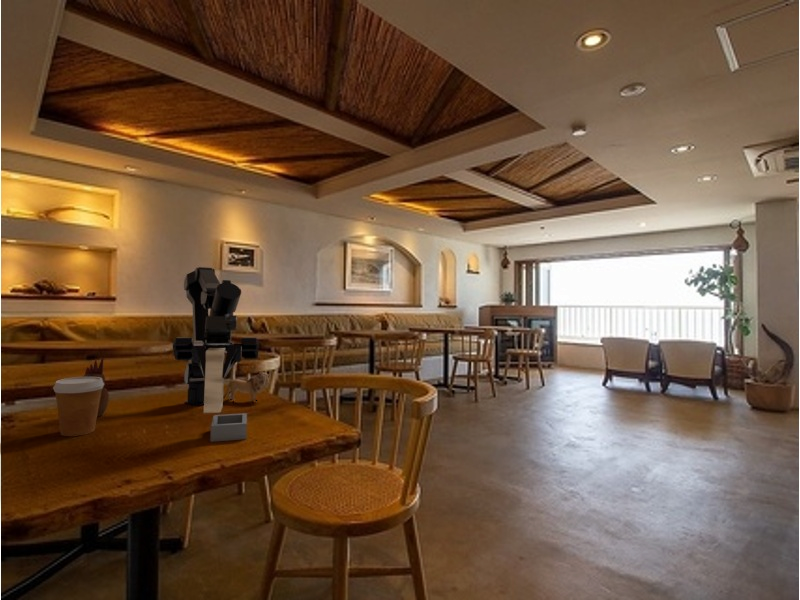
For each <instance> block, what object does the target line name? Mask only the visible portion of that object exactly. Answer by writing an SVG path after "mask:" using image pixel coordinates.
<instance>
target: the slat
mask: <svg viewBox="0 0 800 600" xmlns="http://www.w3.org/2000/svg"><path fill="white" fill-rule="evenodd" d="M225 360H226V353H225V348H209V349H208V350H207V351H206V369H205V391H204V405H203V414H212V413H213V414H215V413H217V414H218V413H221V412H222V410H223V407H224V406H223V403H224V399H223V396H224V383H225V378H223V368H224V364H225Z"/></svg>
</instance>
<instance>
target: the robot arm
mask: <svg viewBox="0 0 800 600" xmlns="http://www.w3.org/2000/svg"><path fill="white" fill-rule="evenodd" d="M183 289H184V291H185V293H186V294H185V295H186V298H187V299H188V302H190V303H191V305H192V329H193V332H192V333H193V336H192V337H189V336H188V337H187V336H185V337H176V338H174V339H173V342H172V351H173V355H174V360H176V361H188V363H186V366H185V372H184V383H185V384H186V385H188V388H187V400H184V402H183V403H184V404H187V405H195V406H204V405H203V404H204V391H205V369H206V351H207V350H208V349H209V348H225V364H224V368H223V378H224V379H226V377H227V375H228V374H229V372H230V371H231V369H232V368H233V367H234V366H235V365H236V363H239V362H242V359H244V360H257V359H258V358H259V339H258V338H257V337H254V336H253V337H249V336H248V337H243V336H242V337H241V343H234V342H232V332H233V331H237V329H238V315H234V313H236V310H237V307H238V304H239V302H240V299H241V298H240V297H241V294H242V290H241V288H240V287H239V286H238V285H236V284H234V283H232V281H231V280H229V279H227V280H226V279H222V281H221V282H220V281H219V279H218V277H217V275H216V271H215V268H212V267H206V266H205V267H204V266H198V267H196V268H195V269H194V270H193V271H191V272H189V273H186V275H185V277H184V282H183Z"/></svg>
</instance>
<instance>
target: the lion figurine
mask: <svg viewBox="0 0 800 600" xmlns="http://www.w3.org/2000/svg"><path fill="white" fill-rule="evenodd" d="M270 383H271V382H270V375H269V374H268V373H267V372H260V373H258V374H256V375H255V376H252V377H251V378H249V379H248V380H242V379H239V378H234V379H232V380H231V381H230V382H229V383H228V385H227V389H226V392H225V394H224V395H223V400H224V399H225V398H226V397H227V399H228V398H231V399H232V400H235V397H234V396H235V394H236V392H237V391H240V392H241V393H243V394H250V400H251V402H252V401H255V399H257V398H256V397H257V394H260V393H262V392H263V391H264V390H265V389H267V388H268V387H269V386H270ZM229 390H230V391H229ZM227 395H228V396H227ZM232 400H231V401H232Z"/></svg>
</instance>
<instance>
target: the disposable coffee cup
mask: <svg viewBox="0 0 800 600" xmlns="http://www.w3.org/2000/svg"><path fill="white" fill-rule="evenodd" d="M104 386H105V382H104V383H103V380H102V378H100V377H83V376H77V377H67V378H62V379H59V380H56V381H55V384H54V386H52V390H53V391H54V392H55V398H56V406H57V407H56V408H57V415H58V422H59V424H58V425H59V430H60V431H59V432H60V435H61V436H63V437H75V436H83V435H87V434H91V433H93V432H95V430H96V423H97V419H98V417H97V414H98V408H99V402H100V397H101V391H102V388H103V387H104Z"/></svg>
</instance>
